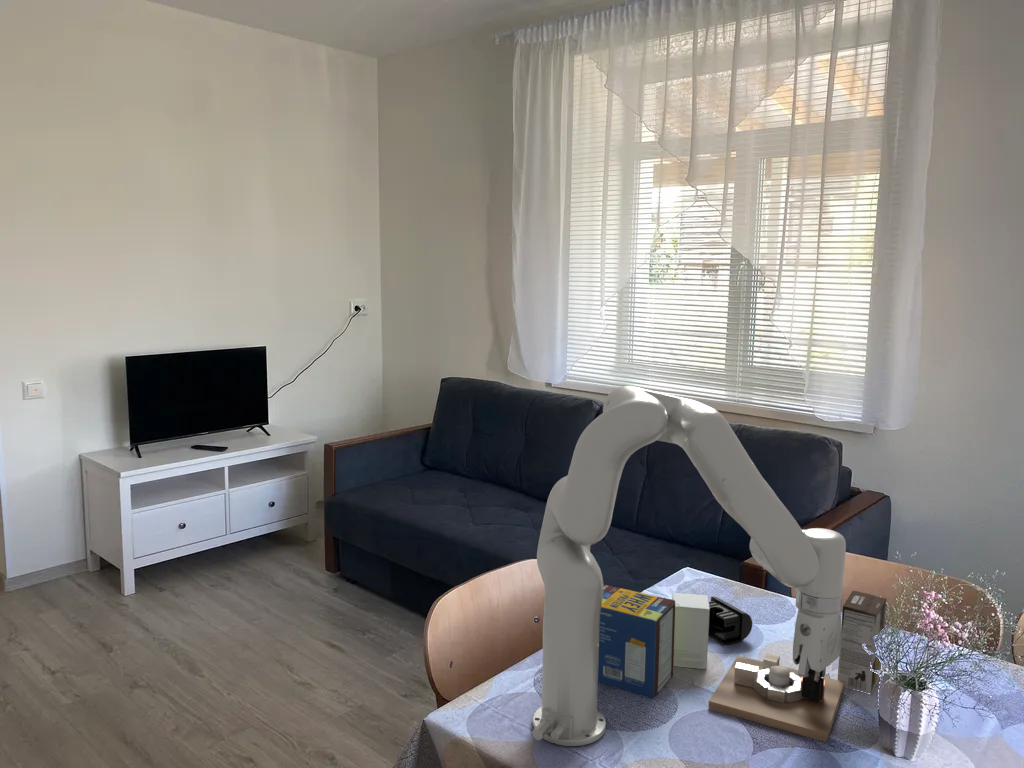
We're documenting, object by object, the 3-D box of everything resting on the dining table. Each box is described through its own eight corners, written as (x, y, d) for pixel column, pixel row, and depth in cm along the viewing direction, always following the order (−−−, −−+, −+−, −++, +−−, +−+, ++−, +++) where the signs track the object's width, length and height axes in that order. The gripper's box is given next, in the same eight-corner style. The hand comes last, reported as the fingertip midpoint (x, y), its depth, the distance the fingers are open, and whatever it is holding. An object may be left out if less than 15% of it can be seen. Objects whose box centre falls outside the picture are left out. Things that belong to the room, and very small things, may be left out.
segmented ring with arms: (731, 691, 146) (732, 674, 145) (738, 670, 153) (739, 655, 153) (822, 711, 139) (823, 694, 139) (825, 688, 147) (826, 672, 146)
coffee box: (847, 666, 159) (852, 589, 157) (881, 676, 155) (888, 597, 153) (835, 685, 152) (841, 604, 149) (871, 696, 148) (878, 613, 146)
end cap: (752, 641, 170) (753, 611, 169) (726, 647, 167) (727, 617, 166) (720, 622, 179) (721, 593, 178) (695, 628, 175) (696, 599, 174)
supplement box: (707, 670, 157) (710, 609, 155) (669, 666, 158) (671, 606, 157) (706, 653, 164) (708, 594, 162) (669, 649, 166) (671, 591, 164)
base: (826, 742, 133) (828, 711, 132) (708, 708, 143) (709, 679, 142) (844, 689, 150) (846, 661, 149) (737, 662, 160) (739, 636, 159)
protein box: (601, 655, 162) (603, 583, 160) (673, 676, 155) (677, 600, 152) (578, 677, 154) (580, 601, 151) (654, 700, 146) (657, 620, 144)
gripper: (821, 619, 131) (814, 723, 134) (857, 594, 142) (849, 690, 144) (778, 606, 136) (772, 706, 139) (815, 582, 147) (809, 675, 150)
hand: (812, 697), depth 142 cm, fingers closed
